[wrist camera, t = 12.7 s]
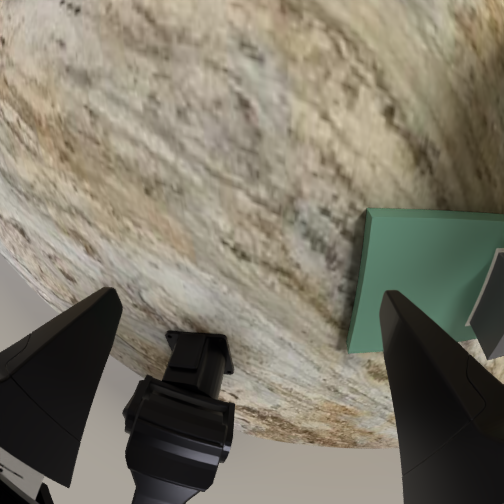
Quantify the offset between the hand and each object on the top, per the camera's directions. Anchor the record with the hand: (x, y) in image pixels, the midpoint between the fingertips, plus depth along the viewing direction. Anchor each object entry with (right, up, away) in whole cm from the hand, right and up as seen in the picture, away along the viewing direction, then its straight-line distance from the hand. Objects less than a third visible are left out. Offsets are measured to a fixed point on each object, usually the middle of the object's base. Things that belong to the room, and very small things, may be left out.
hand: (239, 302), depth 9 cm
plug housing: (+24, -1, +10) cm, 25 cm away
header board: (+20, -1, +12) cm, 23 cm away
